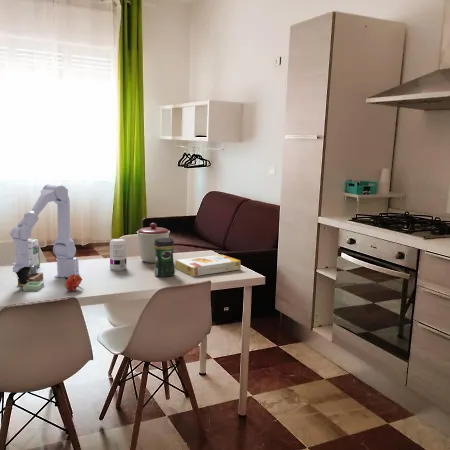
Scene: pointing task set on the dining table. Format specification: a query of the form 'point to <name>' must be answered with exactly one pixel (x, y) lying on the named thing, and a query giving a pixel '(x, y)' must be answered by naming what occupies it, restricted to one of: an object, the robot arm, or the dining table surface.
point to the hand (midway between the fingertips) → (23, 284)
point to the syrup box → (34, 252)
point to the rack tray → (33, 286)
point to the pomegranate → (72, 282)
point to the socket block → (34, 278)
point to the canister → (150, 241)
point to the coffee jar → (164, 257)
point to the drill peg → (32, 270)
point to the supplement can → (118, 254)
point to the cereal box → (207, 265)
